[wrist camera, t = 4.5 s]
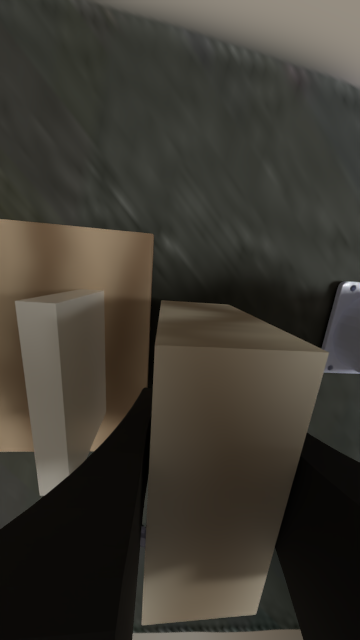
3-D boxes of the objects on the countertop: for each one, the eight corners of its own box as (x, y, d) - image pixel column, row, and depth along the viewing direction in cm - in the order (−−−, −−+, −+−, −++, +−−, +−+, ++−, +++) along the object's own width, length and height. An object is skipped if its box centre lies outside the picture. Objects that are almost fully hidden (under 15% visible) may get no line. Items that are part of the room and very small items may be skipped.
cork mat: (153, 236, 14) (153, 233, 13) (145, 441, 18) (144, 450, 17) (-97, 212, 12) (-120, 207, 11) (-42, 441, 16) (-55, 452, 15)
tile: (104, 290, 13) (55, 303, 7) (106, 411, 16) (70, 494, 10) (79, 288, 13) (10, 300, 7) (85, 411, 15) (36, 495, 10)
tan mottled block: (229, 304, 11) (329, 352, 4) (209, 442, 13) (256, 614, 7) (161, 300, 11) (154, 345, 4) (153, 442, 13) (141, 624, 6)
